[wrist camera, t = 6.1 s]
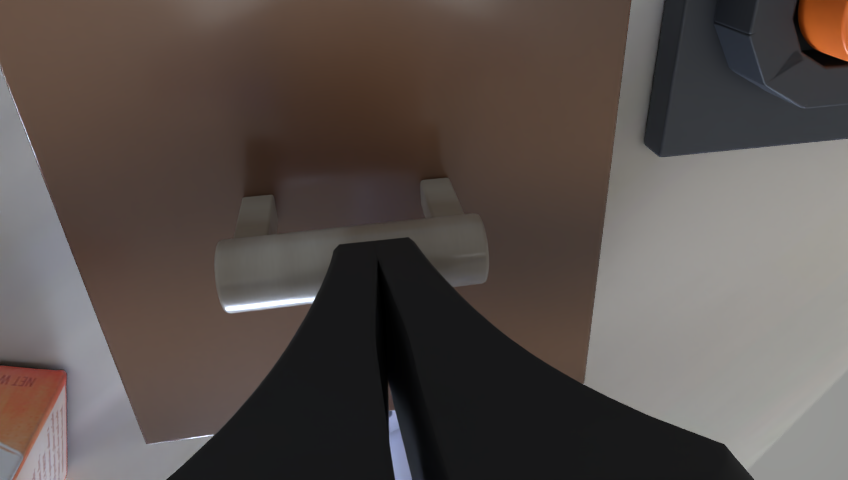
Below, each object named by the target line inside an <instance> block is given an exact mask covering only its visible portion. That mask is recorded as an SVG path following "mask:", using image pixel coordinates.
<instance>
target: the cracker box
mask: <svg viewBox="0 0 848 480" xmlns="http://www.w3.org/2000/svg"><path fill="white" fill-rule="evenodd" d="M66 380H67V373H66V372H65V371H64V370H48V369H34V368H23V367H12V366H1V365H0V480H65V478H66V476H67V396H66Z"/></svg>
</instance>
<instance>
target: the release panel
mask: <svg viewBox="0 0 848 480" xmlns="http://www.w3.org/2000/svg"><path fill="white" fill-rule="evenodd" d="M798 5H799V0H666V1H665V8H664V14H663V21H662V28H661V34H660V41H659V48H658V54H657V61H656V68H655V74H654V81H653V88H652V94H651V101H650V108H649V114H648V121H647V128H646V134H645V141H644V144H645V145H646V146H647V147H648V148H649V149H650V150H652V151H653V152H654V153H655V154H656V155H658V156H659V157H668V156H678V155H688V154H698V153H708V152H718V151H728V150H738V149H748V148H759V147H769V146H779V145H789V144H799V143H809V142H819V141H829V140H839V139H848V62H847V61H844V60H842V59H839V58H836V57H833V56H830V55H828V54H825V53H822V52H819V51H817V50H815V49H814V48H812V47H811V46H810V45H809V44H808V43H807V42H806V40H805V39H804V37H803V35H802V33H801V31H800V28H799V23H798Z"/></svg>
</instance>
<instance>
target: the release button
mask: <svg viewBox="0 0 848 480" xmlns="http://www.w3.org/2000/svg"><path fill="white" fill-rule="evenodd" d="M798 23H799V28H800V31H801V33H802V35H803V37H804V39H805V40H806V42H807V43H808V44H809V45H810V46H811V47H812V48H814V49H815V50H817V51H819V52H822V53H825V54H828V55H830V56H833V57H836V58H839V59H842V60H844V61H847V62H848V0H799V5H798Z"/></svg>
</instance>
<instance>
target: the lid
mask: <svg viewBox="0 0 848 480" xmlns="http://www.w3.org/2000/svg"><path fill="white" fill-rule="evenodd" d="M630 7H631V0H0V68H1V71H2V73H3V76H4V78H5V81H6V84H7V86H8V89H9V91H10V94H11V96H12V99H13V102H14V104H15V107H16V109H17V112H18V115H19V117H20V120H21V122H22V125H23V127H24V130H25V133H26V135H27V138H28V140H29V143H30V145H31V148H32V151H33V153H34V156H35V158H36V161H37V164H38V166H39V169H40V171H41V174H42V176H43V179H44V182H45V184H46V187H47V189H48V192H49V194H50V197H51V200H52V202H53V205H54V207H55V210H56V213H57V215H58V218H59V220H60V223H61V225H62V228H63V231H64V233H65V236H66V238H67V241H68V243H69V246H70V249H71V251H72V254H73V256H74V259H75V262H76V264H77V267H78V269H79V272H80V274H81V277H82V280H83V282H84V285H85V287H86V290H87V292H88V295H89V298H90V300H91V303H92V305H93V308H94V311H95V313H96V316H97V318H98V321H99V323H100V326H101V329H102V331H103V334H104V336H105V339H106V341H107V344H108V347H109V349H110V352H111V354H112V357H113V360H114V362H115V365H116V367H117V370H118V372H119V375H120V378H121V380H122V383H123V385H124V388H125V390H126V393H127V396H128V398H129V401H130V403H131V406H132V409H133V411H134V414H135V416H136V419H137V421H138V424H139V427H140V429H141V432H142V434H143V437H144V439H145V442H146V444H154V443H162V442H169V441H176V440H183V439H191V438H198V437H205V436H212V435H215V434H216V433H217V432H218V431H219V430H220V429H221V428H222V427H223V426H224V425H225V424H226V423H227V422H228V421H229V420H230V419H231V418H232V416H233V415H234V414H235V413H236V412H237V411H238V410H239V408H240V407H241V406H242V405H243V404H244V403H245V401H246V400H247V399H248V398H249V397H250V396H251V395H252V393H253V392H254V391H255V390H256V389H257V387H258V386H259V385H260V384H261V382H262V381H263V380H264V378H265V377H266V376H267V375H268V373H269V372H270V371H271V369H272V368H273V367H274V365H275V364H276V362H277V361H278V360H279V358H280V357H281V355H282V354H283V352H284V351H285V349H286V348H287V346H288V345H289V343H290V341H291V340H292V338H293V336H294V335H295V333H296V332H297V330H298V328H299V327H300V325H301V323H302V322H303V320H304V318H305V317H306V315H307V313H308V311H309V309H310V307H311V305H312V303H313V301H314V299H315V297H316V295H317V293H318V291H319V289H320V287H321V285H322V283H323V280H324V278H325V276H326V273H327V270H328V268H329V265H330V262H331V259H332V255H333V250H334V249H335V248H336V247H337V246H338V245H339V244H347V243H356V242H366V241H376V240H385V239H395V238H405V237H409V238H410V239H412V240H413V241H414V242H415V243H416V245H417V246H418V247H419V249H420V250H421V251H422V253H423V254H424V255H425V256H426V258H427V259H428V260H429V261H430V263H431V264H432V265H433V266H434V267H435V268H436V269H437V271H438V272H439V273H440V274H441V275H442V276H443V277H444V278H445V279H446V281H447V282H448V283H449V284H450V285H451V286H452V287H453V288H454V289H455V290H456V291H457V292H458V293H459V294H460V295H461V296H462V297H463V298H464V299H465V300H466V301H467V302H468V303H469V304H470V305H471V306H473V307H474V308H475V309H476V310H477V311H478V312H479V313H480V314H481V315H483V316H484V317H485V318H486V319H487V320H488V321H489V322H491V323H492V324H493V325H494V326H495V327H496V328H498V329H499V330H500V331H501V332H503V333H504V334H505V335H506V336H508V337H509V338H510V339H512V340H513V341H514V342H516V343H517V344H519V345H520V346H522V347H523V348H524V349H526V350H527V351H529V352H530V353H531V354H533V355H534V356H536V357H538V358H539V359H541V360H542V361H544V362H545V363H547V364H549V365H550V366H552V367H554V368H556V369H557V370H559V371H561V372H562V373H564V374H566V375H568V376H569V377H571V378H573V379H575V380H576V381H578V382H580V383H582V384H584V380H585V372H586V363H587V355H588V347H589V339H590V331H591V323H592V315H593V307H594V299H595V290H596V282H597V274H598V266H599V258H600V250H601V242H602V234H603V226H604V217H605V209H606V201H607V193H608V185H609V177H610V169H611V161H612V153H613V144H614V136H615V128H616V120H617V112H618V104H619V96H620V88H621V80H622V71H623V63H624V55H625V47H626V39H627V31H628V23H629V15H630ZM388 400H389V411H393V410H395V408H394V403H393V399H392V395H391V391H390V387H389V383H388Z"/></svg>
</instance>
